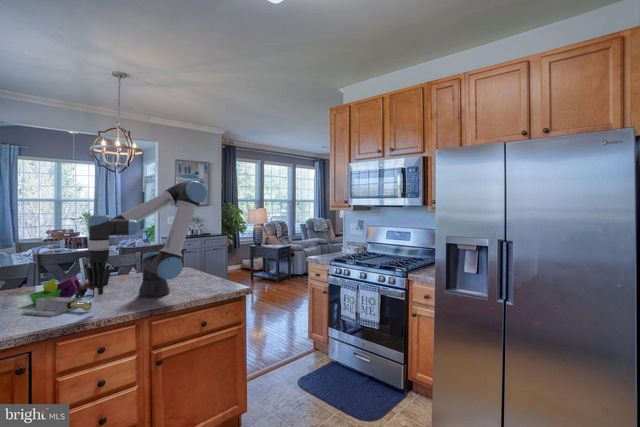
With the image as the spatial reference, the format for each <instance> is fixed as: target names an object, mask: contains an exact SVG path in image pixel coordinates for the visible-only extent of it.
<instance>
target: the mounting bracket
mask: <svg viewBox="0 0 640 427" xmlns="http://www.w3.org/2000/svg"><path fill="white" fill-rule="evenodd" d="M80 286H82V283H81V281H80V279H79V278H78V276H77V275H74V276H72V277H70V278H68V279H65V280H63V281H60V282H58V283H57V289H61V292H60V295H59V297H63V298H71V297H72V296H73V295H76V293H77V290H78V288H79V287H80Z"/></svg>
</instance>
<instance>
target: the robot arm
mask: <svg viewBox="0 0 640 427" xmlns="http://www.w3.org/2000/svg"><path fill="white" fill-rule="evenodd" d="M207 196H208V191H207V187H205V185H204V184H203V183H202V182H200V181H196V180H191V181H181V182H178V183H175V184H174V185H172V186H170V187H169V188H167V189H165V190H163V191H162V193H161V194H159V195H156V196H155V197H153V198H151V199H149V200H147V201H145V202H142V203H141V204H139V205H136V206H134V207H132V208H130V209H129V210H126V211H124V212H122V213H120V214H119V215H115V216H114V217H113V218H111V217H110V216H109V215H108V214H107V215H101V214H100V215H99V214H98V215H97V214H95V215H91V216H90V217H89V221H88V223H89V224H88V231H89V232H88V236H89V238H88V249H89V251H88V259H89V261H88V263H87V264H84V265H83V267H84V268H85V270H86V276H87V281H88V282H87V283H89V286H92V287H93V290H92V291H93V292H92V294H93V303H100V302H103V294H104V287H106V286H108V284H109V280H110V276H111V272H112V269H113V268H114V266H113V264H110V263H109V261H108V258H109V257H110V253H109V252H110V250H109V249H110V248H109V247H110V237H112V236H135V235H136V234H138V232H139V224H138V223H139V222H142V221H143V220H145V219H147V218H148V217H151V216H153V215H155V214H157V213H158V212H160V211H162V210H163V209H166V208H168V207H174V206H176V205H178V206H177V209H176V212H175V215H174V218H173V220H172V223H171V226H170V230H169V232H168V235H167V238H166V242H165V244H164V246H163V248H161V249H159V251H157V252H156V251H155V252H146V253H144V254H142V257H141V258H142V259H141V263H142V264H141V265H142V268H141V269H142V273H141V274H142V277H141V278H142V279H141V280H142V281H141V284H140V287H139V290H138V296H139V297H140V298H156V297H157V298H158V297H162V296H166V295H168V294H170V291H171V290H170V286H169V283H168V281H167V280H174V279H176V278H177V277H178V276H179V275H180V274H181V273H182V271H183V269H184V267H183V266H184V265H183V261H182V259H183V253H182V250H183V247H184V243H185V240H186V237H187V235H188V231H189V228H190V226H191V223H192V220H193V217H194V213H195V211H196V210H198V209H199V208H200V205H201V203H202V202H204V201H205V200H206V198H207Z"/></svg>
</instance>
